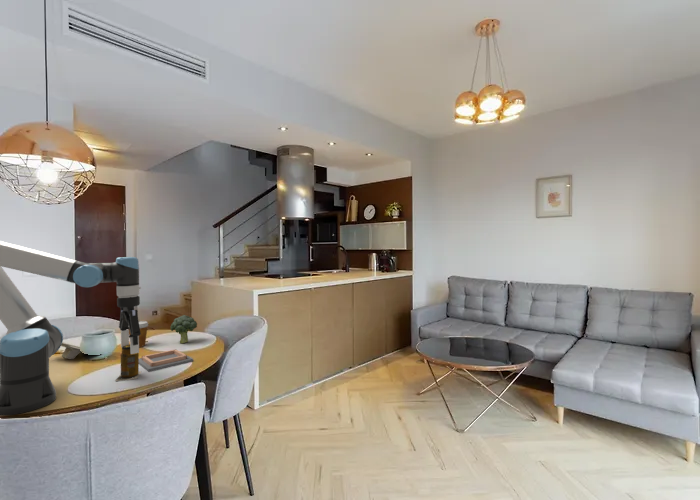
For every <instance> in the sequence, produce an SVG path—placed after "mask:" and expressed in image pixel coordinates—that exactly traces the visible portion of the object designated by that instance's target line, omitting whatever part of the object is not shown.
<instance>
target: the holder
mask: <svg viewBox="0 0 700 500" xmlns="http://www.w3.org/2000/svg"><path fill="white" fill-rule="evenodd" d="M192 362H194V358H192V357H191V356H188V355H187V354H185V353H183V352H182V351H180V350H178V349H171V350H166V351H161V352H156V353H151V354H146V355H142V356H141V358H139V366H141V367H142V368H143V369H144V370H145V371H147V372H148V373H149V372H152V371H156V370H162V369H166V368H171V367H175V366H179V365H182V364H186V363H192Z"/></svg>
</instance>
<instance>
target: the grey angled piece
mask: <svg viewBox="0 0 700 500" xmlns="http://www.w3.org/2000/svg"><path fill="white" fill-rule="evenodd" d="M61 347H63V348H65V349H64V351H63V352H62V354H61V357H63V358H65V359H69V360H74V359H75V358H77V357H76V356H78V355H79V354H80V353H81V352H82V351H80V347H81V346H79V345H75V344H72V343H71V344H70V343H68V342H67V343H66V342H64V341H63V342H62V344H61Z"/></svg>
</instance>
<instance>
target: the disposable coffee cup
mask: <svg viewBox="0 0 700 500" xmlns="http://www.w3.org/2000/svg"><path fill="white" fill-rule="evenodd" d="M138 321H139V327H140V333H141V334H140V335H139V348H141V347H142V348H143V347H144V346H146V342H147V341H146V340H147V333H148V327H149V323H148V321H146V320H138ZM128 327H129V326H128ZM127 330H129V335H131V334H130V329H127Z"/></svg>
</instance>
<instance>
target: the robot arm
mask: <svg viewBox="0 0 700 500" xmlns="http://www.w3.org/2000/svg"><path fill="white" fill-rule="evenodd" d="M139 265H140V264H139V259H138V258H137V257H135V256H127V257H126V256H124V257H120V256H119V257H116V259H115V262H96V263H95V262H94V263H93V262H83V261H79V260H76V259H71V258H67V257H64V256H60V255H55V254H51V253H48V252H45V251H40V250H37V249H33V248H28V247H25V246H22V245H18V244H13V243H9V242H5V241H2V240H0V322H1V324H3V325H4V327H5V328H6V329H7V331H6V334H5V335H3V336H2V337H1V338H0V416H13V415H19V414H23V413H27V412H28V413H29V412H31V411H35V410H37V409H41V408H44V407H45V406H47V405H50V404H51V403H53V402H54V401H55V400H56V398H57V390H56V388H55V386H54V384H53V382H52V379H51V377H50V358H51V357H52V356H53V355H55V354H56V353H57V352H58V351H59V350H60V348H61V347H62V346H61V344H62V342H64V334H63V332H62V330H61V329H60V328H59V327H57V326H56V325H54V324H52V323H50V322H49V320H48V318H47V317H46V316H45V315H38V313H36V311H35V310H34V309H33V307H32V306H31V304H30V303H29V302H28V301H27V299H26V298H25V296H24V295H23V294H22V292H21V291H20V290H19V289H18V287H17V286H16V284H15V283H14V281H12V278H10V276H9V275H8V274H7V272H6V271H5V270H4V268H7V269H11V270H16V271H19V272H25V273H29V274H33V275H38V276H42V277H46V278H52V279H55V280H59V281H64V282H68V283H71V284H75V285H78V287H81V288H92V287H95V286H97V285H99V284H102V283H116V296H117V298H116V306H117V308H119V309H120V312H119V313H120V315H119V316H120V317H119V322H118V323H119V324H118V328H119V331H120V348H122V347H123V346H125V345H129V344H130V353H131V354H134V353H140V347H139V335H140V334H141V333H140V327H139V321H140V320H139V314H138V309H135V307H137V306H139V305H140V304H141V303H140V302H141V300H140V290H141V289H142V287H141V286H140V267H139ZM128 326H129V327H128ZM128 329H130V334H131V335H129V330H128Z"/></svg>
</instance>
